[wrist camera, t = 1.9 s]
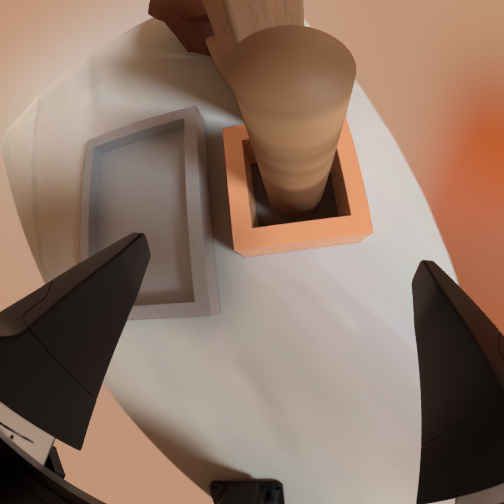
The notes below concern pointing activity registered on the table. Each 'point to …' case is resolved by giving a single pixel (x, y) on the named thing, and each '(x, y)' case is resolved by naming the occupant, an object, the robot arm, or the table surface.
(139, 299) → the tray
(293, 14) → the wooden block
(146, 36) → the table surface
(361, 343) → the table surface
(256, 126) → the dowel pin
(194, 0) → the muffin
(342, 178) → the orange square ring
